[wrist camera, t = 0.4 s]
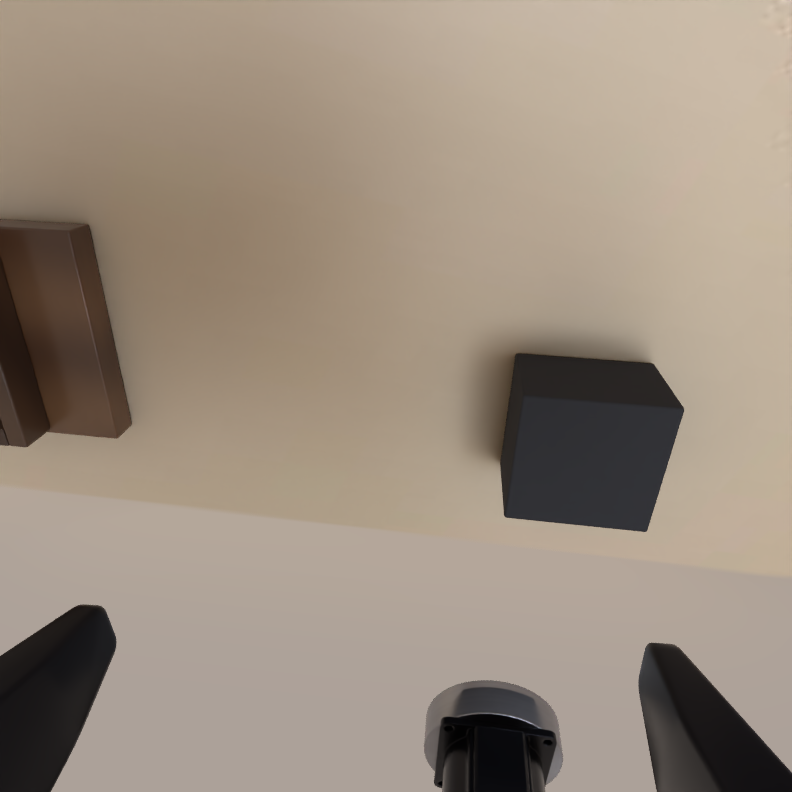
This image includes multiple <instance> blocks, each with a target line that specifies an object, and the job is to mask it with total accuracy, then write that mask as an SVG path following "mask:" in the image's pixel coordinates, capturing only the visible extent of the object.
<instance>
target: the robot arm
mask: <svg viewBox="0 0 792 792" xmlns="http://www.w3.org/2000/svg"><path fill="white" fill-rule="evenodd" d="M115 648H116V636H115V633H114V631H113V629H112V626H111V623H110V621H109V618H108V616H107V613H106V611H105V609H104V608H103V607H101V606H98V605H78V606H76V607H74V608H72V609H71V610H69V611H68V612H66V613H65V614H63V615H62V616H60V617H58V618H57V619H55V620H54V621H53V622H51V623H49V624H48V625H47V626H45V627H43V628H42V629H40V630H39V631H37V632H36V633H34V634H33V635H31V636H30V637H28V638H27V639H26V640H24V641H22V642H21V643H19V644H18V645H16V646H15V647H13V648H12V649H10V650H9V651H7V652H6V653H4V654H3V655H1V656H0V792H51V790H52V788H53V786H54V784H55V783H56V781H57V779H58V777H59V775H60V773H61V771H62V769H63V767H64V766H65V764H66V762H67V760H68V758H69V756H70V754H71V752H72V750H73V748H74V746H75V744H76V742H77V740H78V737H79V735H80V733H81V731H82V729H83V726H84V724H85V722H86V719H87V717H88V715H89V712H90V710H91V707H92V705H93V702H94V700H95V698H96V696H97V693H98V691H99V688H100V686H101V684H102V681H103V679H104V676H105V674H106V672H107V669H108V667H109V664H110V662H111V660H112V657H113V655H114V652H115ZM639 694H640V700H641V706H642V711H643V717H644V723H645V728H646V734H647V739H648V745H649V751H650V756H651V761H652V767H653V773H654V779H655V784H656V789H657V792H792V773H791V772H790V770H789V769H788V768H787V767H786V766H785V765H784V764H783V763H782V762H781V760H780V759H779V758H778V757H777V756H776V755H775V754H774V753H773V752H772V750H771V749H770V748H769V747H768V746H767V745H766V744H765V743H764V741H763V740H762V739H761V738H760V737H759V736H758V735H757V734H756V733H755V731H754V730H753V729H752V728H751V727H750V726H749V725H748V724H747V723H746V721H745V720H744V719H743V718H742V717H741V716H740V715H739V714H738V713H737V712H736V711H735V709H734V708H733V707H732V706H731V705H730V704H729V703H728V702H727V701H726V699H725V698H724V697H723V696H722V695H721V694H720V693H719V691H718V690H717V689H716V688H715V687H714V686H713V685H712V684H711V683H710V681H709V680H708V679H707V678H706V677H705V676H704V675H703V674H702V673H701V671H700V670H699V669H698V668H697V667H696V666H695V665H694V664H693V663H692V661H691V660H690V659H689V658H688V657H687V656H686V655H685V654H684V653H683V651H682V650H681V649H680V648H678V647H677V646H675V645H673V644H663V643H649V644H648V645H647V646H646V648H645V652H644V657H643V661H642V666H641V670H640V675H639ZM556 745H557V740H556V734H555V733H554V732H553V731H550V730H545V729H537V728H530V727H523V726H515V725H508V724H501V723H494V722H486V721H479V720H472V719H464V718H457V717H443V718H442V719H441V721H440V730H439V739H438V748H437V757H436V767H435V776H434V777H435V778H434V784H435V785H436V786H437V787H440V788H442V792H545V785H546V782H547V778H548V774H549V771H550V767H551V763H552V760H553V756H554V752H555V749H556Z"/></svg>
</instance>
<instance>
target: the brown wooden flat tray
mask: <svg viewBox="0 0 792 792" xmlns="http://www.w3.org/2000/svg"><path fill="white" fill-rule="evenodd" d="M131 424H132V423H131V419H130V414H129V409H128V405H127V400H126V396H125V391H124V386H123V382H122V377H121V373H120V368H119V363H118V359H117V354H116V350H115V345H114V340H113V336H112V331H111V327H110V322H109V317H108V313H107V308H106V303H105V299H104V294H103V290H102V285H101V280H100V276H99V271H98V267H97V262H96V257H95V253H94V248H93V244H92V239H91V234H90V230H89V226H88V225H86V224H70V223H53V222H36V221H19V220H2V219H0V445H5V446H9V445H11V446H18V447H28V446H29V445H31V444H32V443H33V442H35V441H36V440H37V439H38V438H40V437H41V436H42V435H44V434H45V433H46V432H54V433H64V434H75V435H85V436H96V437H106V438H118V437H119V436H121V435H122V434H123V433H124V432H125V431H126V430H127V429H128V428H129V427H130V426H131Z"/></svg>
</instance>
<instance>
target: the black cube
mask: <svg viewBox="0 0 792 792" xmlns="http://www.w3.org/2000/svg"><path fill="white" fill-rule="evenodd" d="M683 412H684V408H683V406H682V405H681V403H680V402H679V401H678V399H677V398H676V396H675V395H674V393H673V392H672V390H671V389H670V387H669V386H668V384H667V383H666V381H665V380H664V379H663V377H662V376H661V374H660V373H659V371H658V370H657V368H656V367H655V365H654V364H648V363H635V362H622V361H609V360H596V359H582V358H569V357H556V356H543V355H530V354H516V356H515V363H514V370H513V377H512V384H511V391H510V398H509V405H508V412H507V419H506V427H505V434H504V441H503V448H502V455H501V462H500V465H501V478H502V492H503V506H504V516H505V517H507V518H516V519H526V520H535V521H545V522H555V523H565V524H574V525H584V526H594V527H603V528H613V529H623V530H633V531H642V532H646V531H647V529H648V526H649V523H650V520H651V516H652V513H653V510H654V507H655V503H656V500H657V497H658V494H659V490H660V487H661V484H662V481H663V477H664V474H665V471H666V468H667V464H668V461H669V458H670V455H671V451H672V448H673V445H674V442H675V438H676V435H677V432H678V429H679V425H680V422H681V419H682V416H683Z"/></svg>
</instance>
